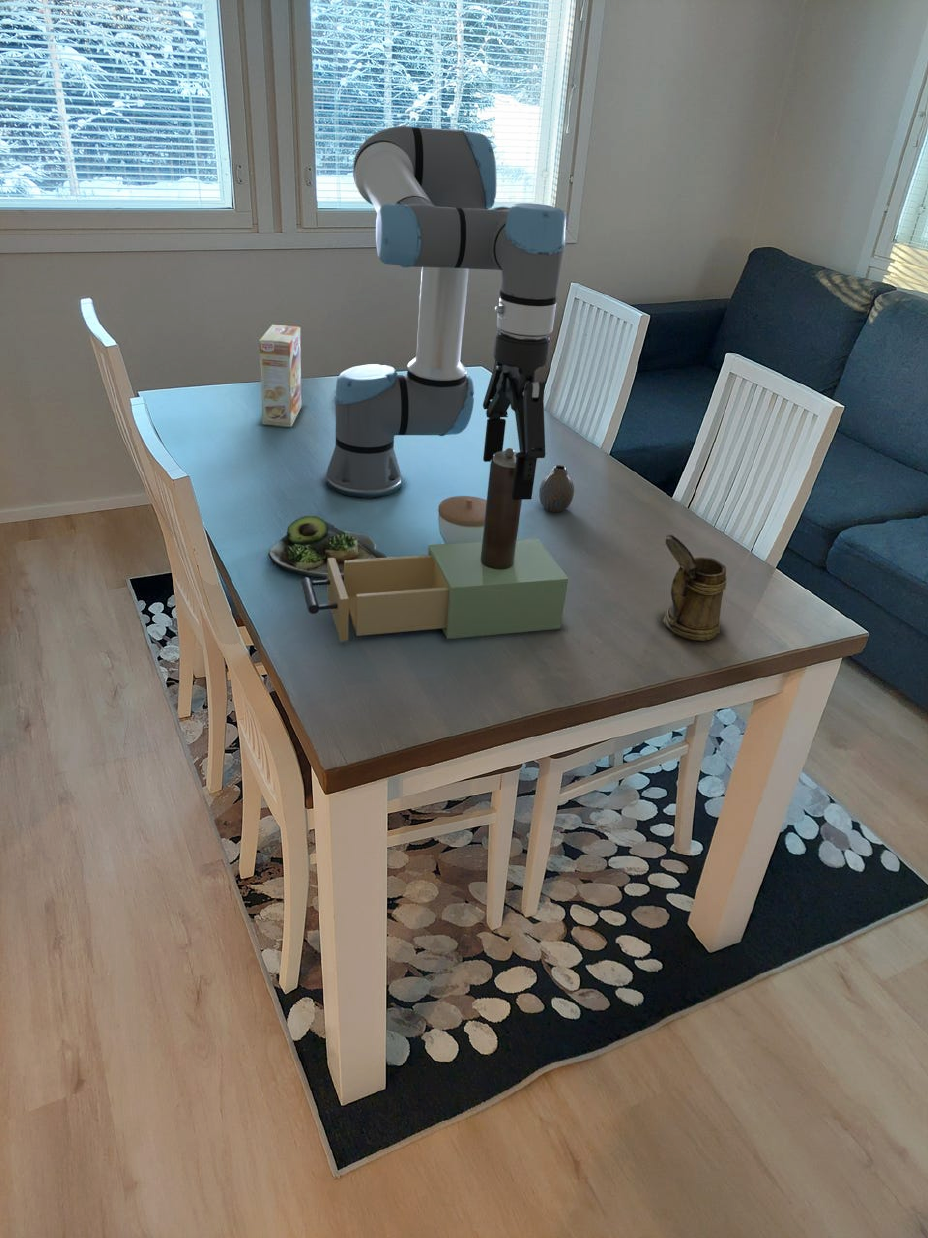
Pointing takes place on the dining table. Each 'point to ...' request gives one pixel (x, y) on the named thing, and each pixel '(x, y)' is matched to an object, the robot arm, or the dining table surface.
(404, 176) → the robot arm
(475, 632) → the cabinet
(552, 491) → the vase
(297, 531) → the salad plate
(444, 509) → the trinket box
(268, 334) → the coffeecake box
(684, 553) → the wooden mug
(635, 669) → the dining table surface
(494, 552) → the pepper mill
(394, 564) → the drawer
